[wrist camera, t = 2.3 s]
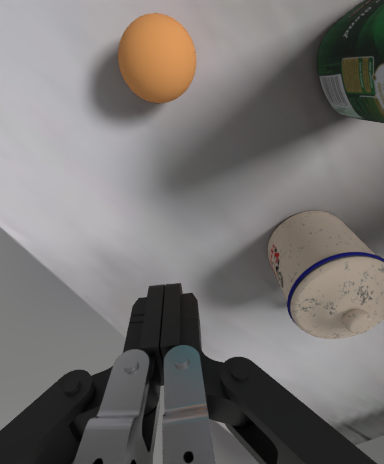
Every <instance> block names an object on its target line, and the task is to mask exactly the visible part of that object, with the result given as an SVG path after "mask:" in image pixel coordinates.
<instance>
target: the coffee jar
mask: <svg viewBox="0 0 384 464" xmlns="http://www.w3.org/2000/svg"><path fill="white" fill-rule="evenodd" d="M317 67H318V73H319V78H320V82H321V85H322V89H323V91H324V93H325V96H326V98H327V100H328V101H329V103H330V105H331V106H332V108H333V109H334V110H335V111H337V112H338V113H340V114H342V115H345V116H348V117H352V118H357V119H362V120H368V121H374V122H381V123H384V0H365V1H364V2H362V3H361V4H359V5H358V6H356V7H355V8H354V9H353V10H351V11H350V12H349V13H347V14H346V15H345V16H344V17H343V18H341V19H340V20H339V21H338V22H337V23H336V24H335V25H333V26H332V28H331V29H330V30H329V31H328V32H327V34H326V35H325V37H324V39H323V40H322V42H321V45H320V48H319V51H318V57H317Z"/></svg>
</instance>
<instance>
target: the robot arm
mask: <svg viewBox="0 0 384 464" xmlns="http://www.w3.org/2000/svg"><path fill="white" fill-rule="evenodd" d="M162 385H164V403H165V414H164V415H163V420H162V426H163V427H162V429H163V430H162V433H163V434H162V436H163V464H216V463H215V457H214V450H213V443H212V436H211V429H210V423H209V419H212V420H215V421H218V422H222V423H225V425H226V427H227V428H228V429H229V430H230V432H231V433H232V434H233V435H234V436H235V437H236V438H237V439H238V440H239V441H240V443H241V444H242V445H243V446H244V447H245V448H246V449H247V450H248V451H249V453H251V455H252V456H253V457H254V458H255V459H256V460H257V461H258V462H259V463H260V464H377V463H375V462H374V461H373V460H372V459H370V458H369V457H368V456H367V455H366V454H365V453H363V452H362V451H361V450H360V449H358V448H357V447H356V446H355V445H354V444H352V443H351V442H350V441H349V440H347V439H346V438H345V437H344V436H343V435H341V434H340V433H339V432H338V431H336V430H335V429H334V428H333V427H332V426H330V425H329V424H328V423H327V422H325V421H324V420H323V419H322V418H321V417H319V416H318V415H317V414H316V413H314V412H313V411H312V410H311V409H310V408H308V407H307V406H306V405H305V404H303V403H302V402H301V401H300V400H299V399H297V398H296V397H295V396H294V395H292V394H291V393H290V392H289V391H288V390H286V389H285V388H284V387H283V386H281V385H280V384H279V383H278V382H277V381H275V380H274V379H273V378H272V377H270V376H269V375H268V374H267V373H266V372H264V371H263V370H262V369H261V368H259V367H258V366H257V365H256V364H255V363H253V362H252V361H251V360H249V359H247V358H244V357H233V358H230V359H228V360H227V361H225V362H224V363H223V362H218V361H214V360H212V359H210V358H208V357H207V356H205V355H204V353H203V352H202V347H201V332H200V319H199V311H198V302H197V299H196V298H195V296H194V295H193V293H187V294H183V293H182V286H181V283H176V284H166V285H155V286H149V289H148V295H147V297H144V298H138V300H137V301H136V303H135V304H134V305H133V308H132V312H131V317H130V322H129V327H128V331H127V336H126V341H125V346H124V351H123V353H122V354H121V355H120V356H119V357H118V358H117V359H116V361H115V363H114V365H113V366H112V367H111V368H109V369H107V370H105V371H103V372H100V373H97V374H95V375H92V376H91V375H90V374H89V373H88V372H87V371H85V370H74V371H71V372H69V373H67V374H65V375H64V376H63V377H61V378H60V379H59V380H58V381H57V382H56V383H55V384H53V385H52V386H51V387H50V388H49V389H48V390H47V391H45V392H44V393H43V394H42V395H41V396H40V397H39V398H38V399H36V400H35V401H34V402H33V403H32V404H31V405H29V406H28V407H27V408H26V409H25V410H24V411H23V412H21V413H20V414H19V415H18V416H17V417H16V418H14V419H13V420H12V421H11V422H10V423H9V424H8V425H6V426H5V427H4V428H3V429H2V430H1V431H0V464H153V452H154V445H155V438H156V430H157V423H158V416H159V409H160V400H159V398H160V386H162Z"/></svg>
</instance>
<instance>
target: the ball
mask: <svg viewBox="0 0 384 464" xmlns="http://www.w3.org/2000/svg"><path fill="white" fill-rule="evenodd" d="M118 61H119V67H120V71H121V74H122V76H123V78H124V80H125V82H126V84H127V85H128V87H129V88H130V89H131V90H132V91H133V92H134V93H135V94H136V95H137V96H139V97H140V98H142V99H144V100H146V101H149V102H153V103H165V102H169V101H172V100H174V99H176V98H178V97H179V96H181V95H182V94H183V93H184V92H185V91H186V90H187V88H188V87H189V85H190V84H191V82H192V80H193V77H194V74H195V69H196V52H195V48H194V44H193V42H192V39H191V37H190V35H189V34H188V32H187V31H186V29H185V28H184V27H183V26H182V25H181V24H180V23H179V22H178V21H176V20H175V19H173V18H171V17H169V16H167V15H163V14H157V13H153V14H146V15H143V16H141V17H139V18H137V19H136V20H134V21H133V22H132V23H131V24H130V25H129V26H128V27H127V29H126V30H125V32H124V34H123V36H122V38H121V41H120V45H119V51H118Z"/></svg>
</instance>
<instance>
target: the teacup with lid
mask: <svg viewBox="0 0 384 464" xmlns="http://www.w3.org/2000/svg"><path fill="white" fill-rule="evenodd" d="M267 253H268V259H269V261H270V264H271V266H272V268H273V271H274V273H275V275H276V278H277V280H278V282H279V285H280V287H281V289H282V292H283V294H284V296H285V298H286V301H287V307H288V312H289V315H290V317H291V319H292V320H293V321H294V323H295V324H296V325H297V326H298V327H299V328H301V329H302V330H303V331H305V332H307V333H309V334H311V335H313V336H316V337H320V338H326V339H339V338H346V337H350V336H354V335H357V334H361V333H364V332H366V331H368V330H369V329H370V328H372V327H374V326H375V325H377V324H378V323H379V322H381V321H382V320H383V319H384V259H383V258H381V257H379V256H377V255H375V254H374V253H373V252H372V251H371V250H370V249H369V248H368V247H367V246H366V245H365V244H364V243H363V242H362V241H361V240H360V239H359V238H358V237H357V236H356V235H355V234H354V233H353V232H352V231H351V230H350V229H349V228H348V227H347V226H346V225H345V224H344V223H343V222H342V221H341V220H340V219H339V218H338V217H336V216H335V215H333V214H331V213H328V212H324V211H306V212H302V213H299V214H296V215H294V216H292V217H290V218H288V219H287V220H285V221H284V222H283V223H281V224H280V225H279V226H278V227H277V229H276V230H275V231H274V232H273V234H272V236H271V238H270V240H269V244H268V251H267Z"/></svg>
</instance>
